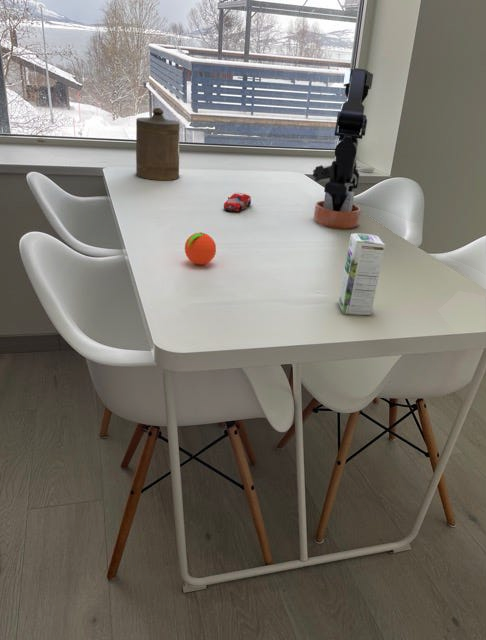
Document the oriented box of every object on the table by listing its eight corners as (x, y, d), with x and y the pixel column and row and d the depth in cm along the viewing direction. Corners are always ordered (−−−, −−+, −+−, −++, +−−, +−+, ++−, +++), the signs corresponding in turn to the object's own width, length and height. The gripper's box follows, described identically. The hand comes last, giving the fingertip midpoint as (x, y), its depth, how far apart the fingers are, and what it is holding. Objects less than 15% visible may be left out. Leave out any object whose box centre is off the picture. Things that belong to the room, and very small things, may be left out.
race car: (237, 214, 171) (238, 200, 169) (220, 211, 173) (221, 197, 171) (253, 205, 182) (254, 192, 180) (237, 202, 184) (238, 189, 182)
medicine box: (350, 221, 174) (355, 192, 170) (347, 225, 170) (351, 194, 166) (324, 217, 176) (329, 187, 171) (321, 220, 172) (325, 190, 168)
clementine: (199, 272, 126) (200, 240, 122) (174, 264, 129) (175, 232, 125) (221, 264, 132) (223, 233, 128) (197, 256, 135) (198, 226, 131)
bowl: (318, 214, 180) (321, 198, 178) (360, 221, 177) (363, 205, 175) (309, 224, 169) (311, 207, 166) (353, 232, 166) (356, 214, 164)
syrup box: (337, 303, 118) (349, 232, 111) (365, 304, 119) (379, 234, 112) (342, 314, 113) (355, 241, 106) (372, 316, 114) (386, 243, 107)
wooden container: (187, 177, 209) (188, 110, 198) (159, 182, 198) (159, 111, 187) (156, 169, 215) (156, 104, 204) (127, 174, 204) (125, 105, 193)
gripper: (324, 149, 173) (317, 202, 181) (310, 157, 158) (303, 215, 166) (361, 154, 171) (352, 208, 179) (350, 164, 155) (341, 222, 163)
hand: (337, 213), depth 172 cm, fingers closed on medicine box, 4 cm apart
